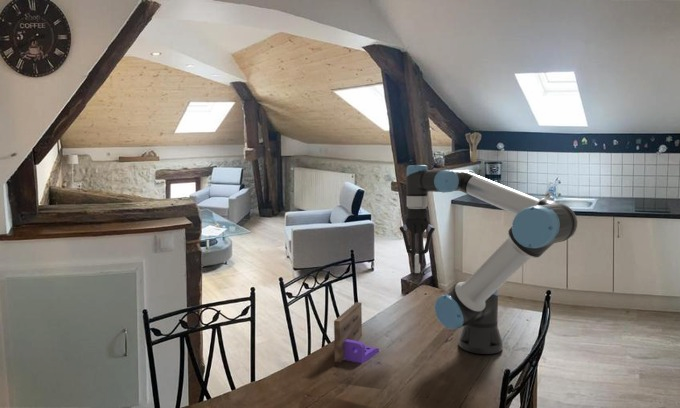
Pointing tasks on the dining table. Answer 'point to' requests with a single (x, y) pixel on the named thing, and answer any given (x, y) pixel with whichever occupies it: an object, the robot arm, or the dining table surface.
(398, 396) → the dining table surface
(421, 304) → the dining table surface
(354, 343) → the bracket
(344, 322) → the upright wooden plank
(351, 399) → the dining table surface
